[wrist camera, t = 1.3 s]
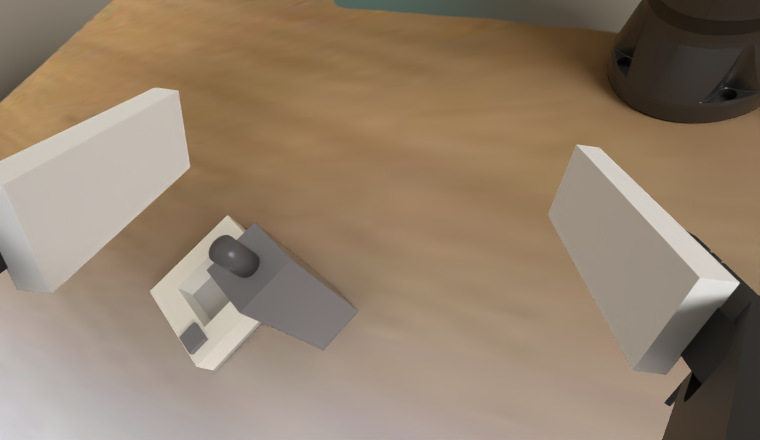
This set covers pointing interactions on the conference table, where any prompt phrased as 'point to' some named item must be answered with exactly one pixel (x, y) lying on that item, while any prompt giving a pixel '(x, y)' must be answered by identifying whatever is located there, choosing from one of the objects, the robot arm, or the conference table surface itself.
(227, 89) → the conference table surface
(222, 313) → the socket
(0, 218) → the robot arm
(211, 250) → the plug
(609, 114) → the conference table surface
